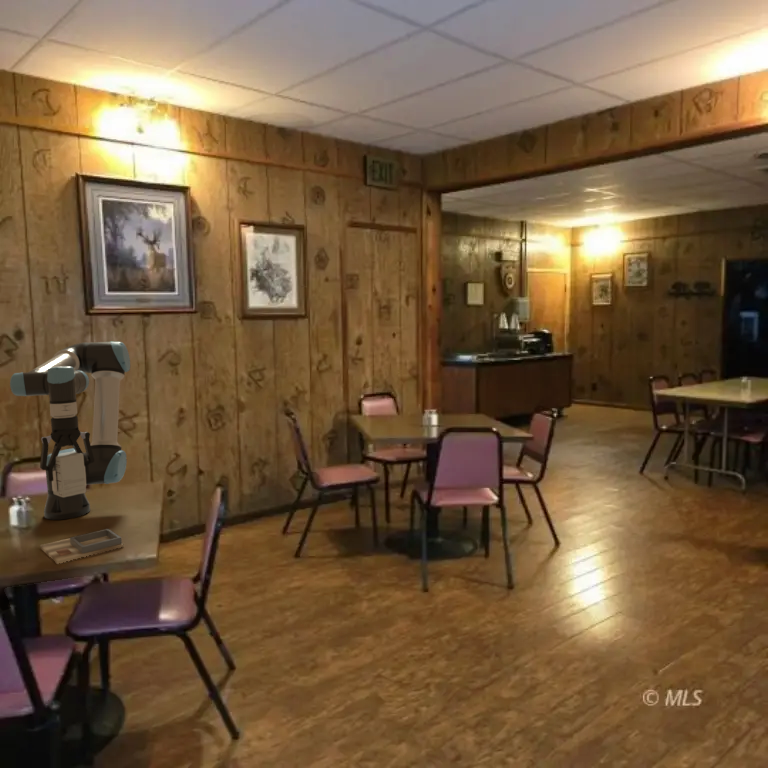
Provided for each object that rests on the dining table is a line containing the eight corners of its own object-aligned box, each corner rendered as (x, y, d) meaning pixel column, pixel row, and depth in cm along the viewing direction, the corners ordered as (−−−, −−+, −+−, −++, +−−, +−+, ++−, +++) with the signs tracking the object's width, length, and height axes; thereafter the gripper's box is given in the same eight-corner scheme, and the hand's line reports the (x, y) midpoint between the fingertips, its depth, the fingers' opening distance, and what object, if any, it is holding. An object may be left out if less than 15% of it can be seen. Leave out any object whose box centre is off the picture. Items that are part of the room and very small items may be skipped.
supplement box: (76, 489, 209) (73, 450, 208) (86, 492, 204) (84, 453, 203) (52, 494, 203) (49, 454, 202) (62, 498, 198) (59, 457, 197)
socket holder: (70, 543, 202) (69, 537, 202) (108, 534, 210) (108, 528, 209) (82, 553, 193) (81, 547, 193) (121, 543, 201) (121, 537, 201)
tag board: (40, 548, 202) (40, 544, 201) (103, 533, 214) (103, 529, 214) (57, 564, 188) (57, 559, 188) (123, 547, 201) (123, 543, 201)
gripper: (29, 421, 192) (35, 496, 194) (102, 413, 205) (107, 484, 207) (24, 418, 198) (30, 492, 200) (95, 411, 211) (100, 480, 213)
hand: (69, 488), depth 203 cm, fingers closed on supplement box, 8 cm apart
